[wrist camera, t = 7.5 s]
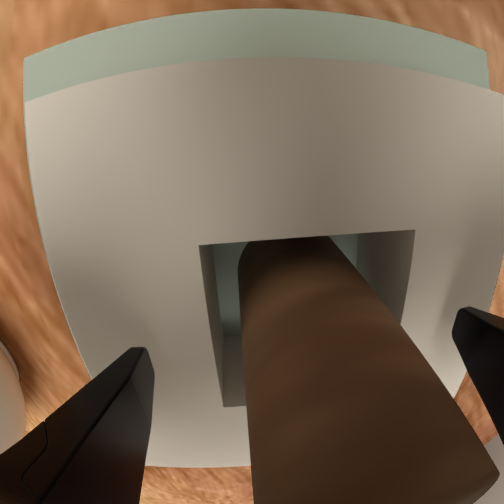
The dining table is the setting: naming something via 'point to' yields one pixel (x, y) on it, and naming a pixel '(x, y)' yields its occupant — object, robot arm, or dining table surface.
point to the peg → (343, 390)
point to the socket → (257, 189)
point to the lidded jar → (10, 402)
